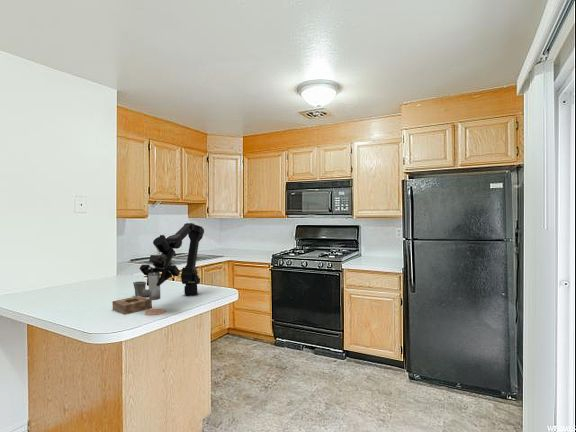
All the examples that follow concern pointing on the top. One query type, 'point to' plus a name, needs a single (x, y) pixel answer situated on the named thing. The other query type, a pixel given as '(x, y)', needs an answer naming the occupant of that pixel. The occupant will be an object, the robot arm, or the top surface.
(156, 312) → the mat
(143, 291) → the pipe
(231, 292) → the top surface
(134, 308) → the housing
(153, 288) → the shiny metal cylinder
